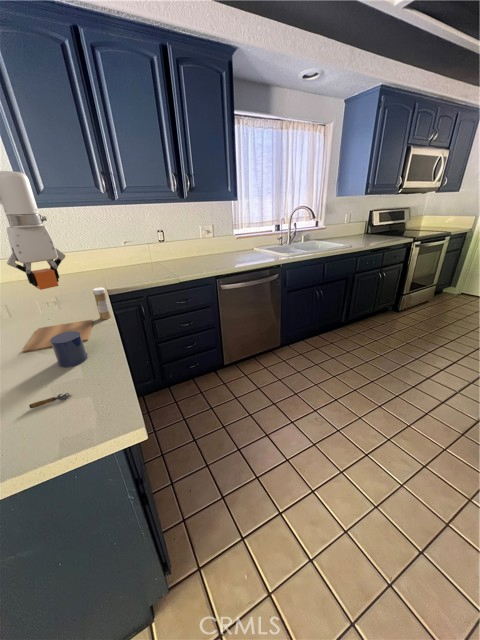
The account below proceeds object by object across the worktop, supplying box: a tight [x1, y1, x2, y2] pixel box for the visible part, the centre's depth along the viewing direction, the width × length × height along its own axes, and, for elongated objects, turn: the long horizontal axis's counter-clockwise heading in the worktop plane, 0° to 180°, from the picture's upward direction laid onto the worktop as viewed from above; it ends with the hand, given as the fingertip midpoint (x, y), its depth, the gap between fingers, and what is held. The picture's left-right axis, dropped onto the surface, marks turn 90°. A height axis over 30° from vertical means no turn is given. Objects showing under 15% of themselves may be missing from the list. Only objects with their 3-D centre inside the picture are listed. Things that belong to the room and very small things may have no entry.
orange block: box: [31, 267, 59, 291], centre depth 82 cm, size 5×5×5 cm
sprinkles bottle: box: [92, 287, 112, 320], centre depth 114 cm, size 5×5×13 cm
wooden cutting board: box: [22, 319, 94, 353], centre depth 103 cm, size 20×20×1 cm
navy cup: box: [50, 331, 89, 368], centre depth 84 cm, size 8×8×8 cm
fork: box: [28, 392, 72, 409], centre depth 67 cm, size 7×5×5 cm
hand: (45, 282), depth 82 cm, fingers closed on orange block, 5 cm apart
